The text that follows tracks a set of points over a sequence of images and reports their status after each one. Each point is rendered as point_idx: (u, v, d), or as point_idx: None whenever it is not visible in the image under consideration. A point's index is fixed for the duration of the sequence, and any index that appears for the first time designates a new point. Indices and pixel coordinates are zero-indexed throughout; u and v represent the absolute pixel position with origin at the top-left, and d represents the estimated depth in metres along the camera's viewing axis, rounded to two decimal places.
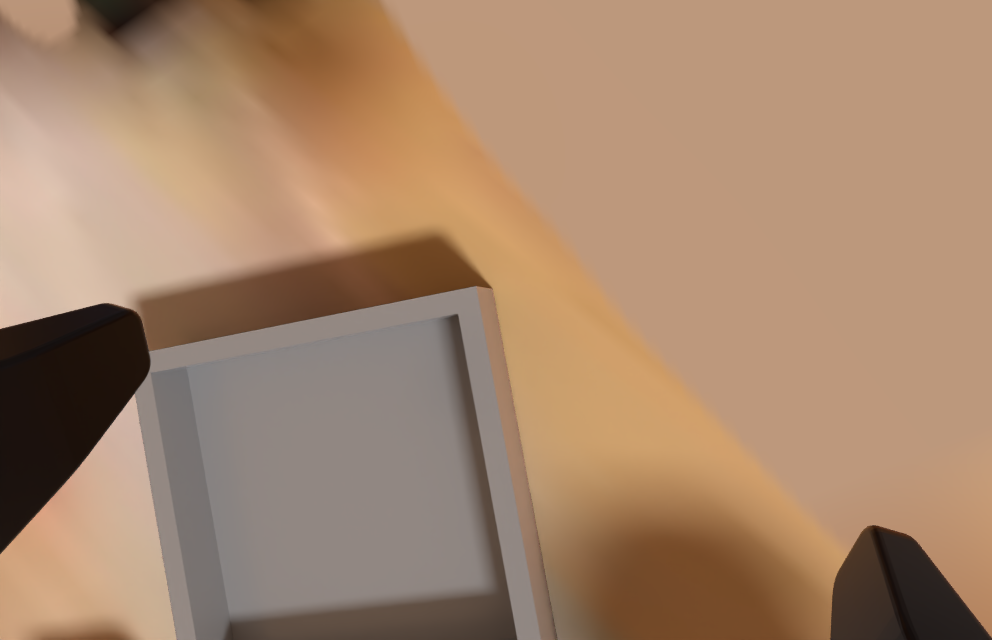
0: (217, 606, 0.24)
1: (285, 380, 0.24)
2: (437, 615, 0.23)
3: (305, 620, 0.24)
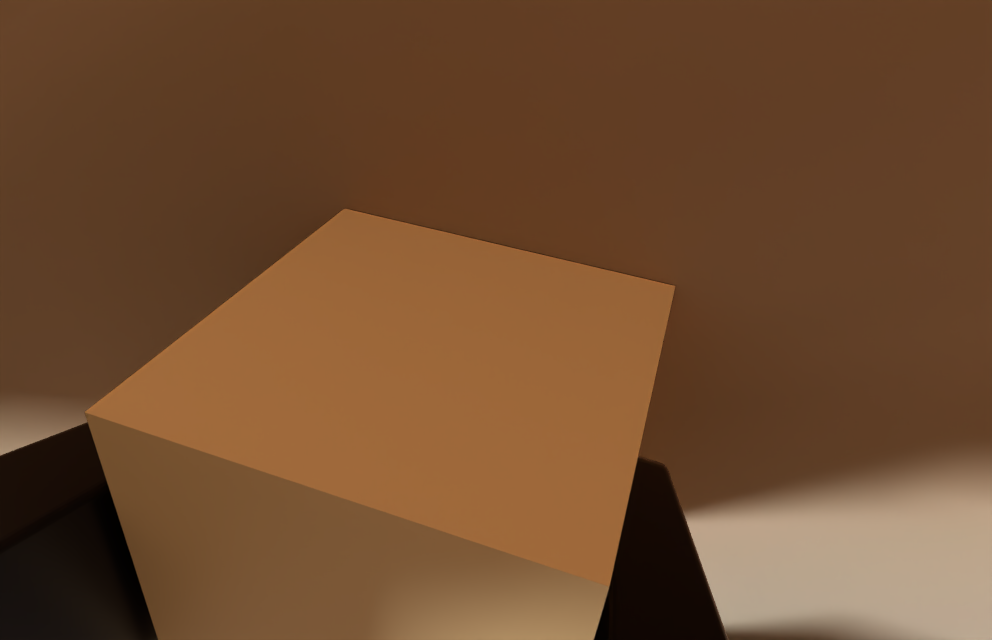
0: None
1: None
2: None
3: None
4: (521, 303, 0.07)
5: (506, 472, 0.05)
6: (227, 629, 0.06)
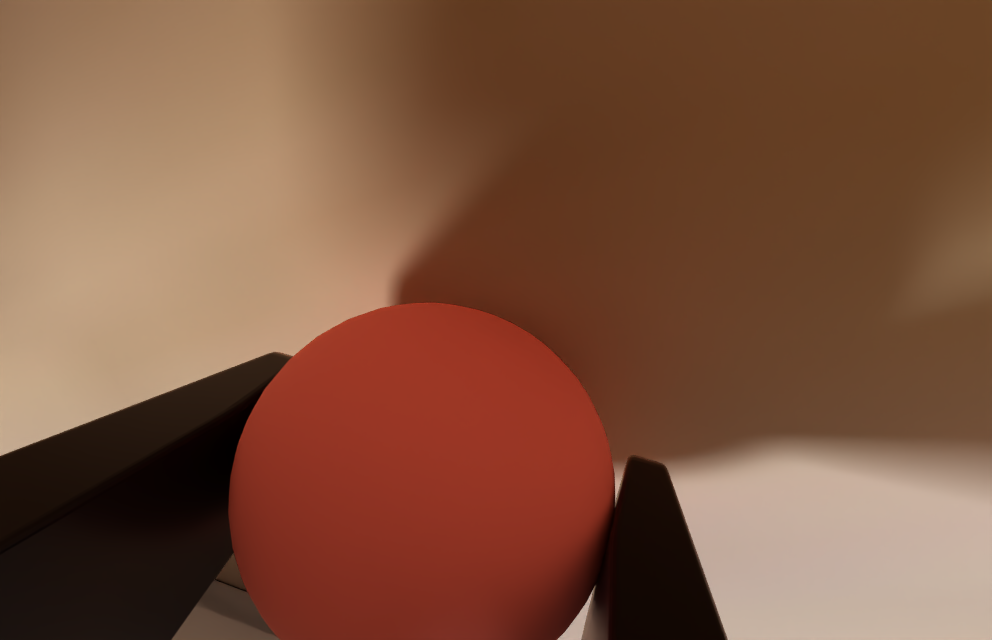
0: None
1: None
2: None
3: None
4: None
5: None
6: None
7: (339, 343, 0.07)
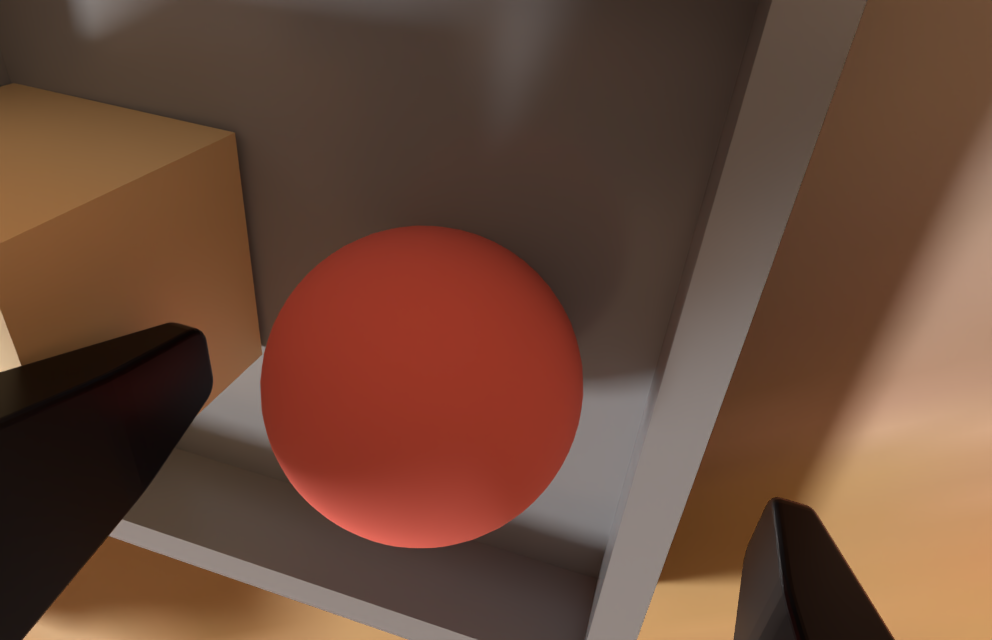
0: None
1: (608, 233, 0.09)
2: None
3: (72, 68, 0.10)
4: (93, 135, 0.09)
5: None
6: None
7: (352, 253, 0.08)
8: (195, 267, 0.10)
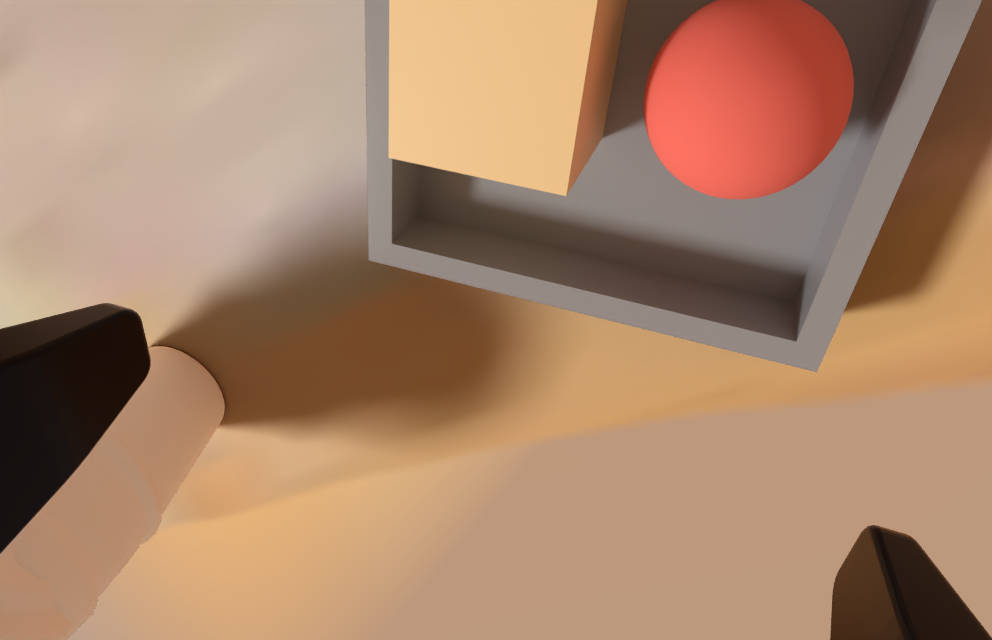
0: None
1: (850, 12, 0.14)
2: None
3: None
4: None
5: None
6: (429, 85, 0.14)
7: (723, 1, 0.13)
8: (611, 48, 0.15)
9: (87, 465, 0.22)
